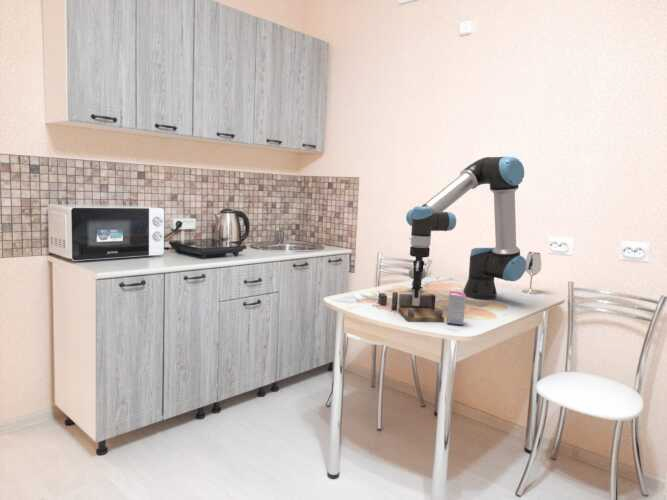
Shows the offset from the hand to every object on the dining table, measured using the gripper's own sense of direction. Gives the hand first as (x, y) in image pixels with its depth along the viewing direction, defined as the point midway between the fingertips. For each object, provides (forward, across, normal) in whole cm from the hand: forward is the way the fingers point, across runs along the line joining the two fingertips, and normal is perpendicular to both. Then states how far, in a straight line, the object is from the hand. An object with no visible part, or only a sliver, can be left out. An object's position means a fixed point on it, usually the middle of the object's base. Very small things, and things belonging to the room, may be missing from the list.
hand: (415, 305), depth 200 cm
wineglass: (+4, -67, +50) cm, 84 cm away
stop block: (+3, -9, -15) cm, 18 cm away
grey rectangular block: (+3, -5, 0) cm, 6 cm away
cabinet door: (+3, +3, +1) cm, 5 cm away
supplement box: (+4, +8, +16) cm, 18 cm away
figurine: (+4, -41, -4) cm, 42 cm away
